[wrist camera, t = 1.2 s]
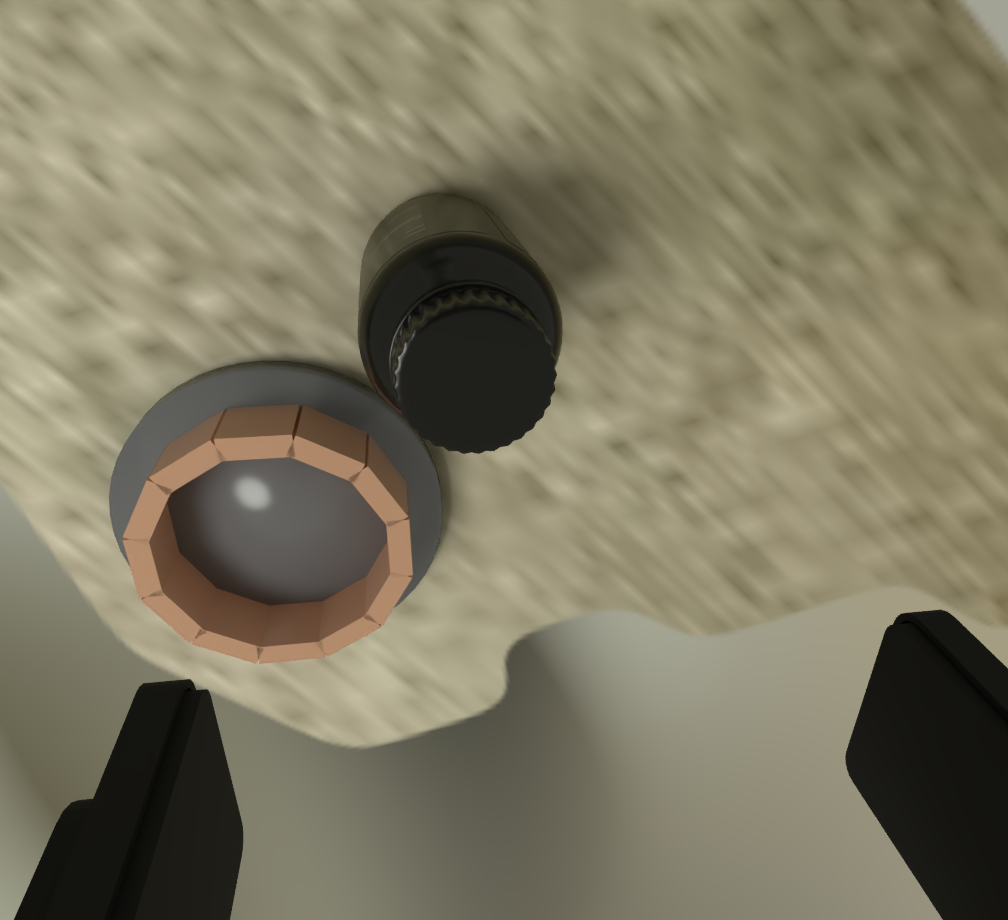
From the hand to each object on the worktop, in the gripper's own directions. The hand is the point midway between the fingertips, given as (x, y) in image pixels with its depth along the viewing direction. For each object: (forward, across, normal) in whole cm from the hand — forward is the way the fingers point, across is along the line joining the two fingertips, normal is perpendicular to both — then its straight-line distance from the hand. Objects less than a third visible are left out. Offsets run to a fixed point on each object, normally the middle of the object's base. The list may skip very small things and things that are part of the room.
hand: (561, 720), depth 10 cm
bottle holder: (+24, +8, +11) cm, 28 cm away
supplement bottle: (+24, 0, 0) cm, 25 cm away
